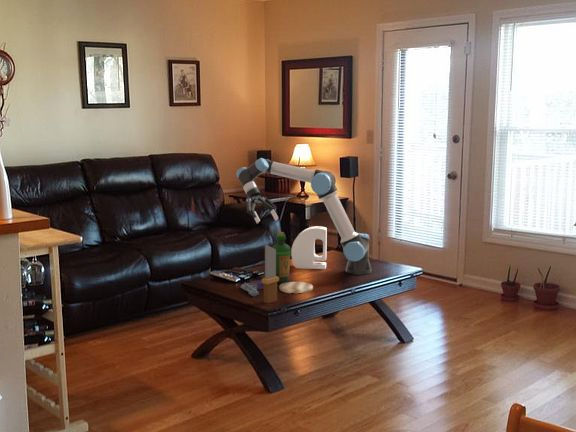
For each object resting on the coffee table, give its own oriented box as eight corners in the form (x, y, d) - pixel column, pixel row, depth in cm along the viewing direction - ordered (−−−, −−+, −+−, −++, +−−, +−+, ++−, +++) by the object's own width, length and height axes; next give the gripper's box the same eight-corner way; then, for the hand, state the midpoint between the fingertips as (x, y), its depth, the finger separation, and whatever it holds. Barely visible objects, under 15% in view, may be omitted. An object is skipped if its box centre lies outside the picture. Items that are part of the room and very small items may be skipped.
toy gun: (276, 295, 345) (250, 298, 340) (263, 285, 362) (238, 289, 356) (276, 288, 345) (249, 291, 339) (263, 279, 362) (237, 282, 356)
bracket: (325, 269, 397) (326, 228, 393) (291, 267, 400) (291, 227, 396) (326, 266, 404) (327, 226, 399) (292, 265, 406) (293, 225, 402)
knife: (267, 304, 329) (267, 245, 324) (261, 302, 331) (261, 244, 326) (278, 300, 335) (279, 242, 330) (273, 298, 337) (273, 241, 332)
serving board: (312, 284, 364) (312, 281, 364) (313, 293, 347) (313, 290, 346) (279, 284, 364) (279, 281, 364) (279, 293, 346) (279, 290, 346)
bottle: (288, 284, 364) (288, 234, 359) (269, 283, 366) (269, 234, 361) (292, 279, 374) (292, 231, 369) (274, 278, 376) (274, 230, 371)
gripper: (265, 193, 393) (281, 222, 384) (232, 196, 376) (247, 226, 368) (271, 185, 388) (287, 214, 380) (237, 188, 371) (253, 219, 363)
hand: (268, 220), depth 374 cm, fingers open, 13 cm apart
